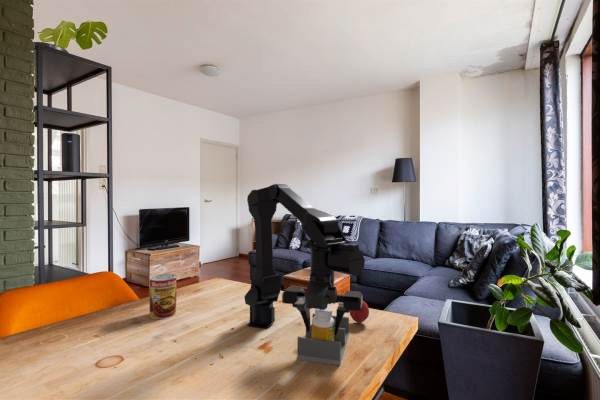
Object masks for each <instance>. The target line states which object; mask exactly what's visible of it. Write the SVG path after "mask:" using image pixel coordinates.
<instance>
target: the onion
mask: <svg viewBox="0 0 600 400" xmlns="http://www.w3.org/2000/svg"><path fill="white" fill-rule="evenodd" d="M369 309H370V308H369V306H368V304H367V303H366V302H365V301H364V300H363V303H362V307H361V310H359V311H355V310H350V312H349V316H350V318H351V319H352V320H353V321H354V322H355V323H356V324H359V325H360V324H362V323H364V322H365V321H366V319H368V318H369V316H370V315H369V314H370V310H369Z"/></svg>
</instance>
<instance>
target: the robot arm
mask: <svg viewBox="0 0 600 400" xmlns="http://www.w3.org/2000/svg"><path fill="white" fill-rule="evenodd" d="M246 200H247V206H248V212H249V214H250V216H251V217H252V218H253V220H254V239H255V240H254V241H255V267H256V268H255V271H254V273H253V275H252V277H251V281H250V289H248V291H247V293H246V294H245V295H244V304H245V305H247V306H249V322H247V323H246V324H247V325H246V326H247V327H255V328H262V329H263V328H264V329H268V328H269V327H271V325H272V324H273V323H274V322H275V321H276V317H275V316H276V315H275V314H276V313H275V312H276V310H275V309H276V308H275V306H274V302H278V299H279V297H280V293H281V289H282V288H283V286H282V282H281V279H282V276H281V275H280V274H278V273H277V272H276V270H275V269H274V253H273V252H274V251H273V250H274V249H273V247H274V246H273V227H272V226H273V224H272V223H273V222H272V220H273V217H274V215H275V213H276V212H277V208H278V207H277V206H278V204H280V205H282V206H283V208H284V209H286V210H287V211H288V212H289V214H290V213H291V215H292V216H294V217H295V218H296V219H297V220H298V221H299V222H300V224H301V229H302V231H303V232H304V234H306V236H307V237H308V238H309V240H308V241H307V242H306V243H305V244H304V245H303V247H304V248H305V249H310V274H309V281H308V284H307V288H305V290H304V287H303V286H297V285H296V286H295V285H290V286H288V287H287V288H286V289H285V290H283V292H282V294H281V303H282V304H289V305H292V308H295V309H297V310H298V312H299V313H300V315H301V317H302V320H303V321H302V322H303V324H304V326H305V331H306V330H307V332H309V331H310V324H311V309H314V310H315V309H320V310H325V309H326V308H327V307H328V306H329V305H331V304H333V305H334V304H335V305H336V304H337V305H338V306H337V308H336V312H335V313H336V315H335V316H336V323H335V335H337V332H338V329H339V326H340V323H341V320H342V318H343V317H345V314H350V310H355V311H359V310H361V307H362V303H363V301H364V300H363V297H364V295H363V293H362V292H361V291H356V290H345V293H344V294H338V290H337V287H336V286H335V273H339V274H343V275H346V276H347V275H348V276H353V277H358V276H360V275H361V274H362V272H363V271H364V268H365V265H366V260H365V258H364V254H363V252H362V251H361V250H360V245H359V244H358V243H349V242H348V240H347V238H346V236H345V234H344V233H343V230H342V229H341V227H340V225H339V221H338V219H337V218H336V217H335V216H333V215H331V214H330V213H328V212H326V211H323V210H319V209H317V208H315V207H313V206H312V205H311V204H309V203H308V201H306V200H305V199H303V198H302V197H301V196H300V195H298V193H296V192H295V191H293V189H292V188H291V187H290V186H289V185H287V184H285V183H284V184H283V183H282V184H281V183H274V184H271V185H269V186H267V187H263V188H259V189H252V190H251V191H250V193H248V195H247V199H246Z"/></svg>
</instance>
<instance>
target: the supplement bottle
mask: <svg viewBox="0 0 600 400" xmlns="http://www.w3.org/2000/svg"><path fill="white" fill-rule="evenodd" d="M314 314H315V315H316V316H314V317H313V316H312V318H311V319H312V320H311V325H312V335H311V338H313V339H321V340H329V341H334V319H333V318H332V317H331V316H333V309H332V308H331V307H329V306H327V308H326V309H325V310H320V309H314Z"/></svg>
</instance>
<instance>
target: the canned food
mask: <svg viewBox="0 0 600 400" xmlns="http://www.w3.org/2000/svg"><path fill="white" fill-rule="evenodd" d="M148 282H149V291H148V292H149V318H150V319H153V320H162V319H167V318H168V319H169V318H171V317H173V316H175V315H176V314H177V275H176V274H173V273H164V274H163V273H162V274H155V275H152V276H150V277H149V281H148Z"/></svg>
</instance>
